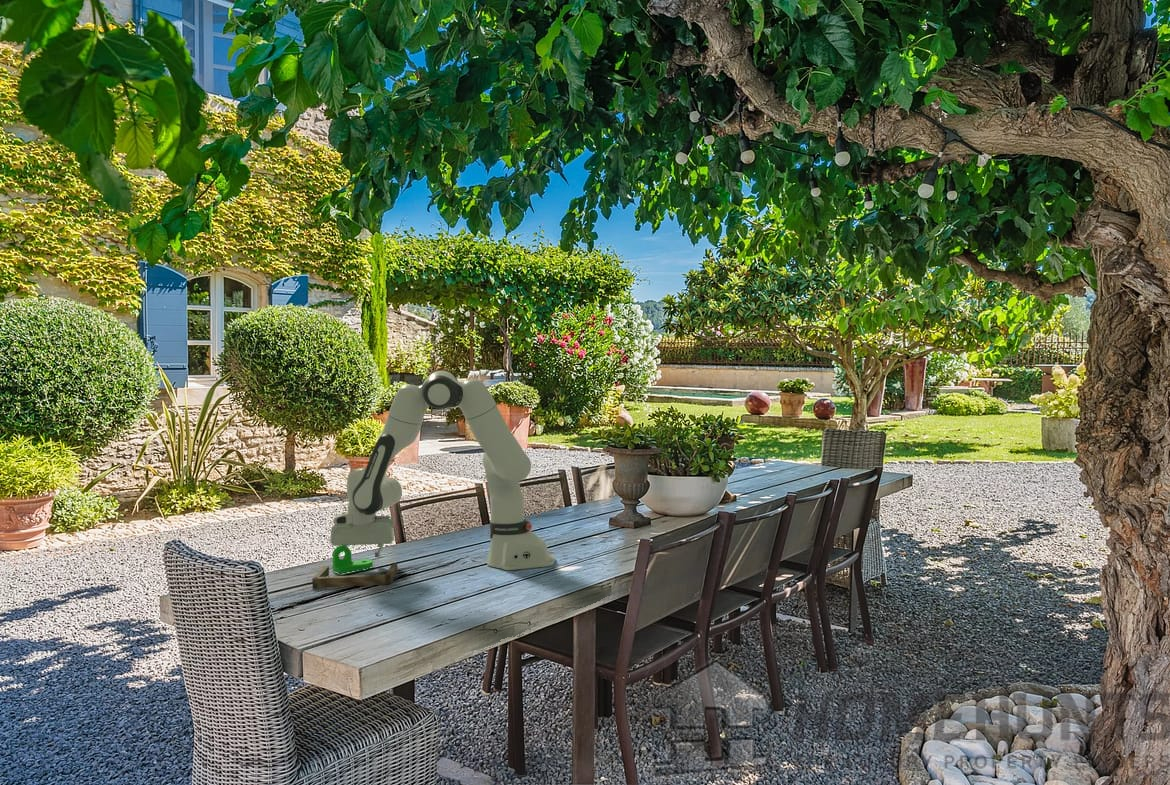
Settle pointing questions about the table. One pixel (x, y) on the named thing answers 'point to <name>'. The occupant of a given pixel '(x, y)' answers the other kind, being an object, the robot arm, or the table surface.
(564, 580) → the table surface
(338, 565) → the mechanical part
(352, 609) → the table surface
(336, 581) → the walnut bay
